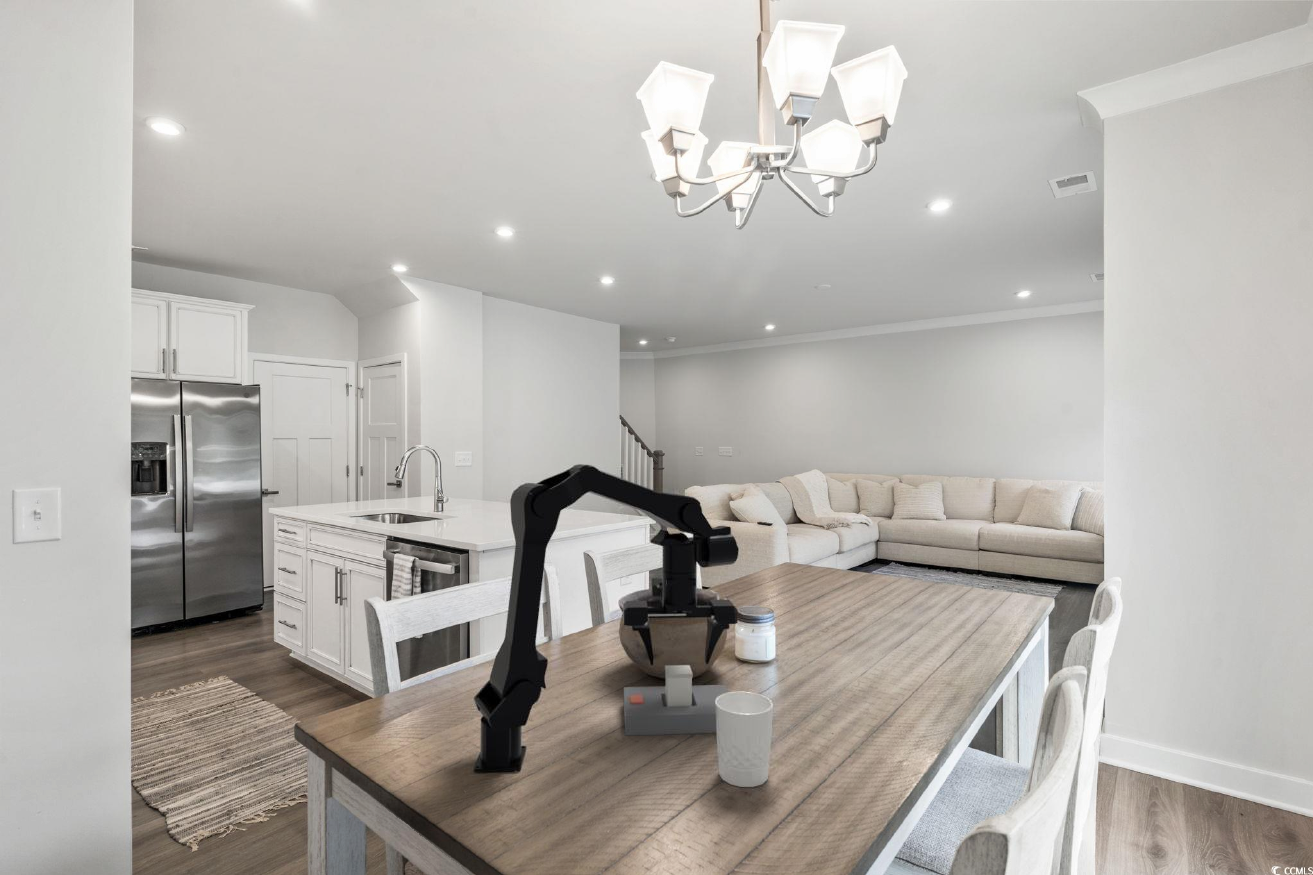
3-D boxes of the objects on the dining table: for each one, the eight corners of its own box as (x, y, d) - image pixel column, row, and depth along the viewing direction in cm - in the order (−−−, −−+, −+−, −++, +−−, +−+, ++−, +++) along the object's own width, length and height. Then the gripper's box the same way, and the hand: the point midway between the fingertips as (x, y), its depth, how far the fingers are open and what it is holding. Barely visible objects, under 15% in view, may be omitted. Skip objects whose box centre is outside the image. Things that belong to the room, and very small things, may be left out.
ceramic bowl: (733, 694, 116) (733, 612, 117) (614, 694, 116) (614, 611, 116) (720, 654, 139) (720, 585, 139) (620, 654, 139) (620, 585, 139)
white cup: (734, 755, 94) (734, 687, 94) (783, 773, 89) (783, 700, 89) (703, 776, 87) (703, 703, 88) (753, 797, 82) (753, 719, 83)
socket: (739, 732, 101) (739, 711, 101) (625, 735, 100) (625, 714, 100) (725, 701, 113) (725, 683, 113) (623, 704, 112) (623, 685, 112)
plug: (689, 712, 109) (689, 665, 109) (692, 722, 105) (692, 673, 105) (664, 712, 108) (664, 665, 109) (666, 723, 104) (667, 674, 104)
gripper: (726, 560, 116) (726, 647, 115) (622, 562, 114) (622, 649, 114) (738, 573, 104) (738, 669, 104) (624, 574, 103) (623, 671, 103)
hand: (679, 663), depth 107 cm, fingers open, 9 cm apart
